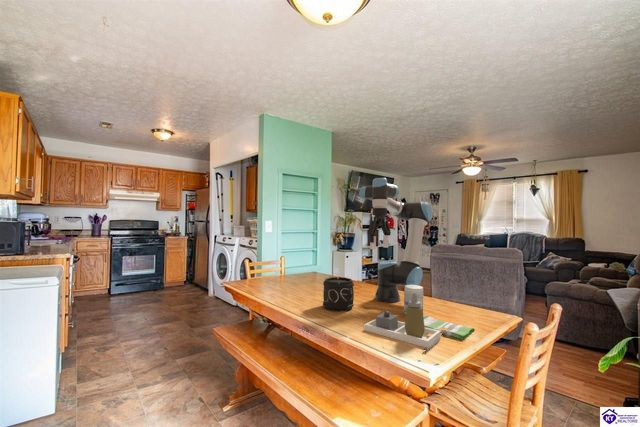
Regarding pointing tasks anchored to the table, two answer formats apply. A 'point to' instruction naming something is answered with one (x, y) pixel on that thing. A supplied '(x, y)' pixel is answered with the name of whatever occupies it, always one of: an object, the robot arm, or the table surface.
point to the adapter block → (387, 321)
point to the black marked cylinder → (338, 294)
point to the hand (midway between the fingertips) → (379, 248)
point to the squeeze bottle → (414, 318)
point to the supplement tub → (409, 293)
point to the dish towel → (448, 328)
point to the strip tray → (427, 339)
